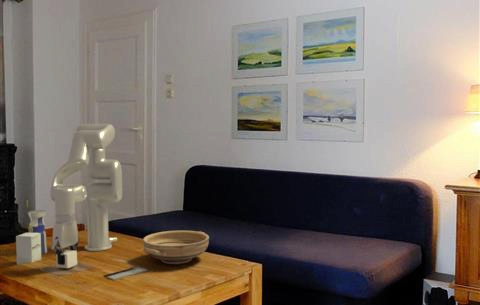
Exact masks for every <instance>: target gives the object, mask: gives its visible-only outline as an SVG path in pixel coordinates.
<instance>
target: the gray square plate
mask: <svg viewBox="0 0 480 305" xmlns="http://www.w3.org/2000/svg"><path fill="white" fill-rule="evenodd" d="M145 272H148V269H147V268H144V267H140V266H133V267H131V268H130V267H129V268H127V269H123V270H119V271H115V272H112V273H111V272H110V273H108V274H105V275H104V274H103V276H104V277H103V278H106V277H107V279H109V280H112V281H115V280H116V281H117V280H119V279H123V277H124V278H126V277H130V275H131V276H133V275H138V274H141V273H145ZM137 273H138V274H137Z"/></svg>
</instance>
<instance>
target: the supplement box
mask: <svg viewBox="0 0 480 305" xmlns="http://www.w3.org/2000/svg"><path fill="white" fill-rule="evenodd" d="M15 246H16V250H15V251H16V253H15V254H16V265H17V266H19V265H24V264H28V263H34V262H38V261H42V254H41V233H29V232H24V233H22V234H19V235H16V236H15Z"/></svg>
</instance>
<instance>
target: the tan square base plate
mask: <svg viewBox="0 0 480 305" xmlns="http://www.w3.org/2000/svg"><path fill="white" fill-rule="evenodd" d="M95 268H96V266H95V267H94V266H92V265H89V264H86V263H83V262H80V261H77V265H75V266H72V267H70V268H62V267H57V264H52V265H50V266H49V265H48V266H45V267H40V268H39V270H40V271H43V272H46V273H48V274H51V275H53V276H56V277H63V276H67V275H70V274H71V275H72V274H74V273H78V272H84V271H86V270H90V269H95Z"/></svg>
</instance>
